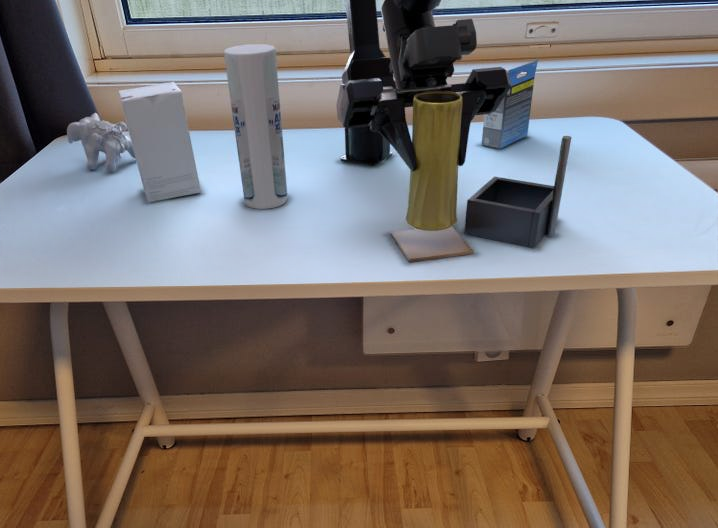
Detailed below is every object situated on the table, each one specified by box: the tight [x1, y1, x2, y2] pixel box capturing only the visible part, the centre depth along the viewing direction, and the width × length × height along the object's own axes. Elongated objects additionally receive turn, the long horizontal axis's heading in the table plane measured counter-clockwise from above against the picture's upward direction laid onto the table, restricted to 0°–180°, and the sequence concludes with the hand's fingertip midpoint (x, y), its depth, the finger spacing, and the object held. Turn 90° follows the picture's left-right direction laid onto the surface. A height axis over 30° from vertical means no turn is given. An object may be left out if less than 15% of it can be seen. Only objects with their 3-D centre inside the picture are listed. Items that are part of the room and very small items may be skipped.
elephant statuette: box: [66, 112, 136, 173], centre depth 105 cm, size 9×12×8 cm
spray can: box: [223, 43, 288, 210], centre depth 86 cm, size 6×6×20 cm
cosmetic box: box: [118, 81, 202, 203], centre depth 91 cm, size 8×6×15 cm
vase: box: [405, 91, 462, 231], centre depth 72 cm, size 6×6×14 cm
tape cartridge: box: [481, 59, 538, 150], centre depth 105 cm, size 9×4×12 cm, turn 136°
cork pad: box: [390, 225, 475, 263], centre depth 78 cm, size 8×8×1 cm
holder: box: [464, 135, 572, 249], centre depth 77 cm, size 10×9×12 cm
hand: (438, 167), depth 71 cm, fingers closed on vase, 5 cm apart
